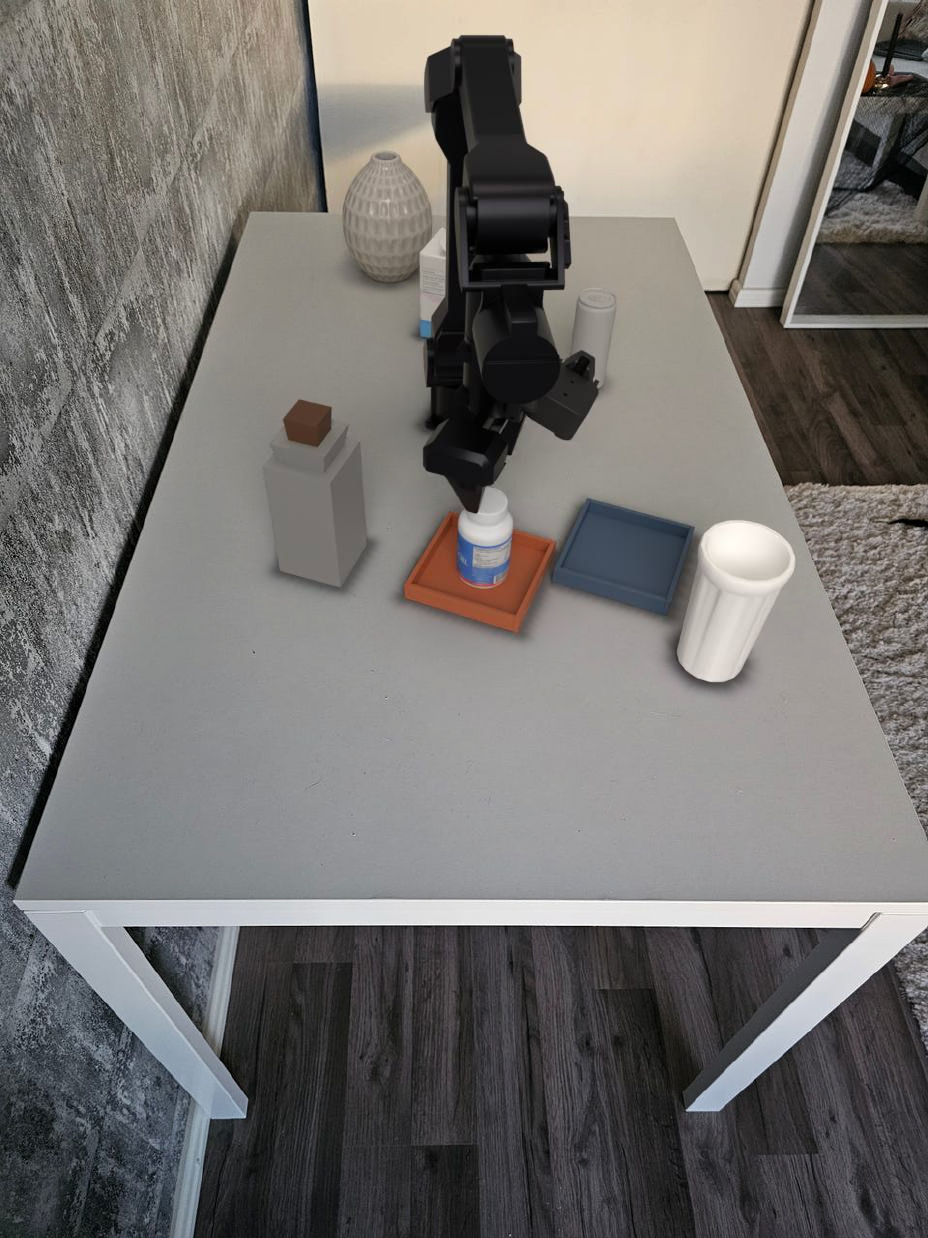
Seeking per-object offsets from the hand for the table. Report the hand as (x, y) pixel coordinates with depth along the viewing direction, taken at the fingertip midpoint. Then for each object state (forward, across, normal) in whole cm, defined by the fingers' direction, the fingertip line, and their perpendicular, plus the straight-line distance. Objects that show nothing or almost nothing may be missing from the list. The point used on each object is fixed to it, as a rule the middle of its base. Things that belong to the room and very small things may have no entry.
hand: (490, 481), depth 85 cm
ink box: (+12, +43, +20) cm, 49 cm away
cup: (+12, -3, -24) cm, 27 cm away
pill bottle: (+12, -1, 0) cm, 12 cm away
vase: (+12, +53, +35) cm, 65 cm away
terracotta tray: (+12, -1, 0) cm, 12 cm away
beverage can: (+12, +37, 0) cm, 39 cm away
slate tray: (+12, +7, -13) cm, 19 cm away
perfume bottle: (+12, -5, +16) cm, 21 cm away
